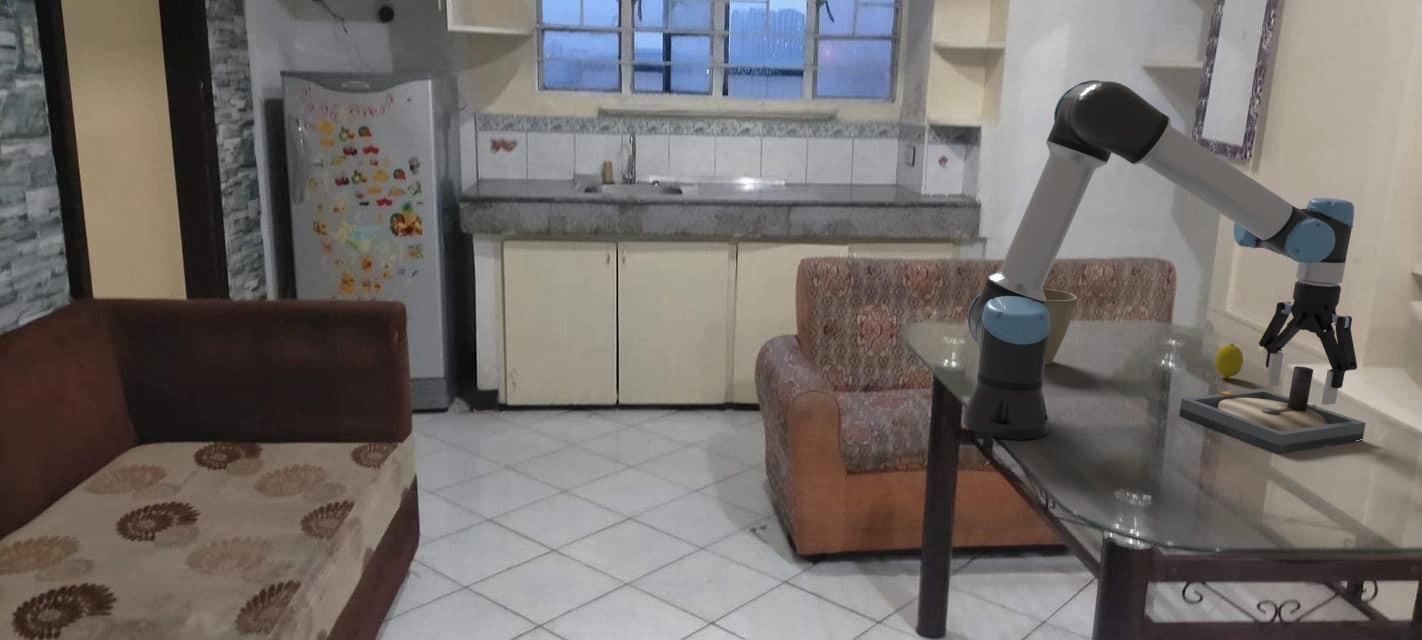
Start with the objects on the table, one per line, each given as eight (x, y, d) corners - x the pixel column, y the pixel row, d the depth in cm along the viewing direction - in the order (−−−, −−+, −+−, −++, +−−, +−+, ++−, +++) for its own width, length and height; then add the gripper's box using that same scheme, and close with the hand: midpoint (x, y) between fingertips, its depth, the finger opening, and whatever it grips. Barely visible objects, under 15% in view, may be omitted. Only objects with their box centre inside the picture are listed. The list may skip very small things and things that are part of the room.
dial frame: (1277, 453, 184) (1281, 432, 183) (1179, 415, 204) (1181, 396, 203) (1362, 440, 193) (1366, 420, 192) (1259, 405, 213) (1262, 386, 212)
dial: (1277, 440, 187) (1286, 389, 184) (1196, 409, 203) (1203, 362, 200) (1346, 430, 194) (1355, 380, 191) (1262, 401, 210) (1270, 355, 207)
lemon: (1211, 379, 230) (1217, 344, 229) (1213, 373, 235) (1218, 339, 233) (1239, 383, 228) (1245, 348, 226) (1240, 377, 233) (1245, 342, 231)
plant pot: (1077, 371, 233) (1086, 301, 229) (1010, 369, 233) (1017, 299, 229) (1057, 354, 247) (1065, 288, 244) (994, 351, 248) (1001, 285, 244)
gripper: (1394, 294, 186) (1372, 411, 191) (1277, 269, 207) (1259, 375, 212) (1365, 296, 183) (1343, 415, 188) (1249, 271, 204) (1233, 378, 209)
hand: (1299, 394), depth 200 cm, fingers open, 11 cm apart
